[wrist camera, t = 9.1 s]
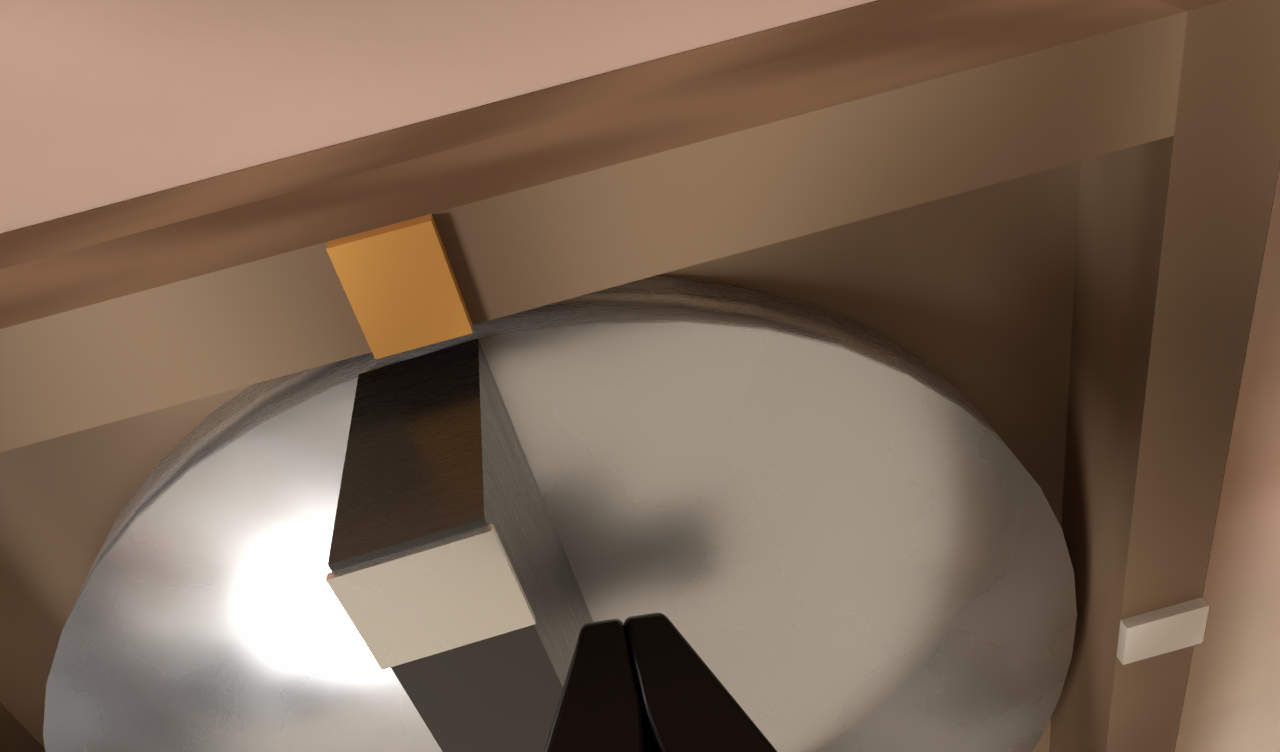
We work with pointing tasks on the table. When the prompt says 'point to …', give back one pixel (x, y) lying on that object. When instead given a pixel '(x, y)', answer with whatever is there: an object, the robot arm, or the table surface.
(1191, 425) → the square wooden tray
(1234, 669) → the table surface
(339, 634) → the dial
